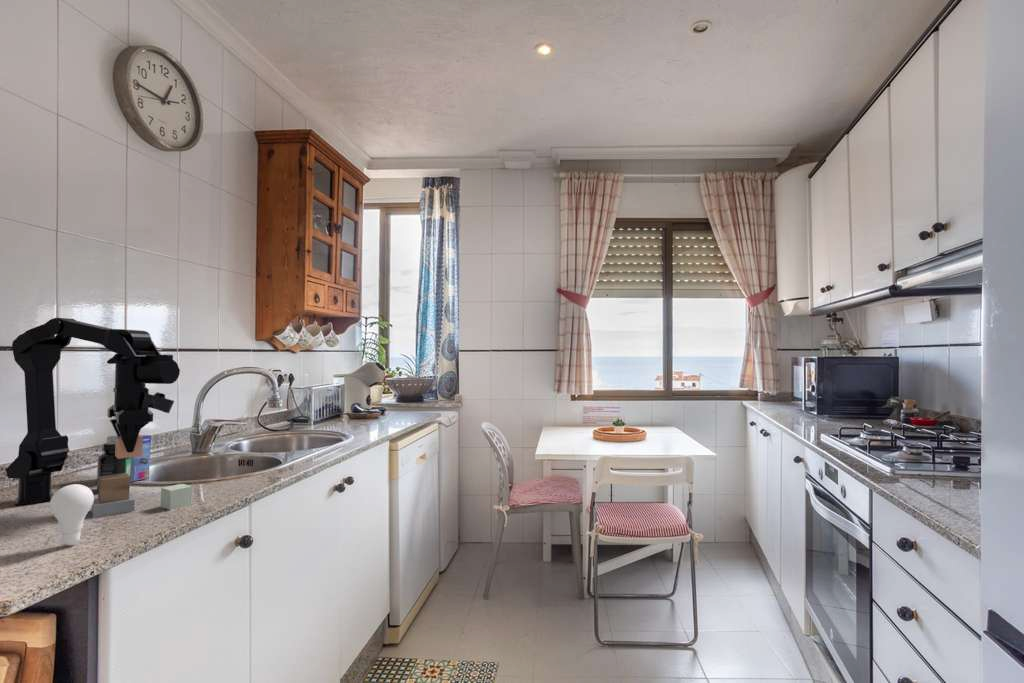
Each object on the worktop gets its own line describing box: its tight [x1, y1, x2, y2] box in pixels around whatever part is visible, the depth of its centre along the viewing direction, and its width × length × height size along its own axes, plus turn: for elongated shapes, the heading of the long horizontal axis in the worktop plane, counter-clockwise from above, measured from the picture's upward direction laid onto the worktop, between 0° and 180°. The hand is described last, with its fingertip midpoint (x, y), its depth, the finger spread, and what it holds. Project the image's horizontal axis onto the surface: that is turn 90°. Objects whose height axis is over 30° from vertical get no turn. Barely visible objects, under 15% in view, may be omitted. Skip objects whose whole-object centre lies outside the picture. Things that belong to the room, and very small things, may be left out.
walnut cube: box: [97, 473, 131, 503], centre depth 114 cm, size 5×5×5 cm
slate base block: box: [90, 492, 135, 519], centre depth 114 cm, size 7×7×3 cm
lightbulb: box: [49, 483, 95, 547], centre depth 93 cm, size 6×6×11 cm
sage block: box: [160, 483, 193, 511], centre depth 118 cm, size 4×4×4 cm
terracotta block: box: [115, 434, 143, 459], centre depth 118 cm, size 4×4×4 cm
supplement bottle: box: [96, 442, 131, 492], centre depth 132 cm, size 7×7×12 cm
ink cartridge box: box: [106, 434, 152, 483], centre depth 143 cm, size 10×6×14 cm, turn 78°
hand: (128, 450), depth 118 cm, fingers closed on terracotta block, 4 cm apart
